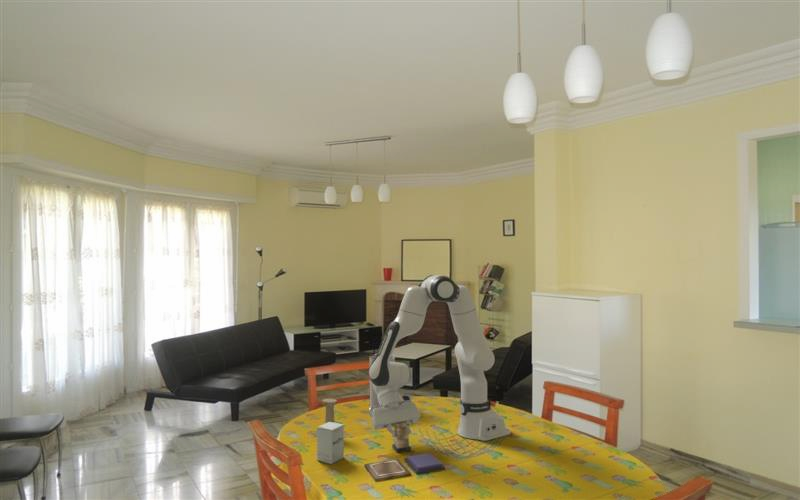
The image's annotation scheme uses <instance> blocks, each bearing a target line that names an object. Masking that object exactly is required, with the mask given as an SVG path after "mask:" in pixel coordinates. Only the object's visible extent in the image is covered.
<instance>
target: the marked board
mask: <svg viewBox="0 0 800 500" xmlns="http://www.w3.org/2000/svg"><path fill="white" fill-rule="evenodd" d="M364 468H365V469H366V471H367V472H368V473H369V475H370V476H371V478H372V479H373V481H374V482H380V481H386V480H391V479H397V478H403V477H408V476H412V473H411V472H412V471H410V470H409V469H408V468H407V466H405V465H404V463H403V462H402V461H401V460H400V459H399V458H394V459H388V460H382V461H381V460H380V461H376V462H370V463H364Z"/></svg>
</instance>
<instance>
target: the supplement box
mask: <svg viewBox="0 0 800 500" xmlns="http://www.w3.org/2000/svg"><path fill="white" fill-rule="evenodd" d="M344 429H345V428H344V424H343V423H339V422H338V423H337V422H335V423H333V422H328V423H325V422H324V424H321V425H319V426H317V427H316V460H317V461H319V462H321V463H326V464H329V465H333V464H334V463H336V462H339V460H341V459H344V458H345V454H344V453H345V451H344V450H345V449H344V448H345V447H344V446H345V445H344V444H345V443H344V441H345V440H344V439H345V434H344V432H345V430H344Z"/></svg>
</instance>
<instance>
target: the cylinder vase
mask: <svg viewBox="0 0 800 500" xmlns="http://www.w3.org/2000/svg"><path fill="white" fill-rule="evenodd" d="M375 357H376V355H372V356H369V367H370V366H371V364H372V362H373V361H374V359H375ZM395 359H396V358H395V356H393V355H392V356H391V358H390V361H389V362H396V360H395ZM377 405H379V402H378V396H377V394H376V393H375V391H374V388H373V385H372V382H371V380H370V379H369V408H371V407H372V406H377Z"/></svg>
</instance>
